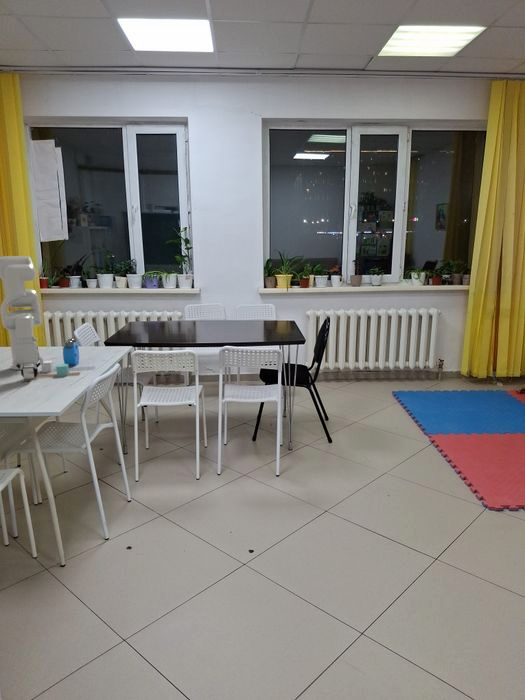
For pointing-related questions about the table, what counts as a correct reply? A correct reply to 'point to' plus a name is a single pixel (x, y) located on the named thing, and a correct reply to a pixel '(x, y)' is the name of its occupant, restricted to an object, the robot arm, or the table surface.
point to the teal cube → (62, 370)
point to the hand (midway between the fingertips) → (30, 375)
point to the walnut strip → (29, 374)
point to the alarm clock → (71, 352)
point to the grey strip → (48, 368)
